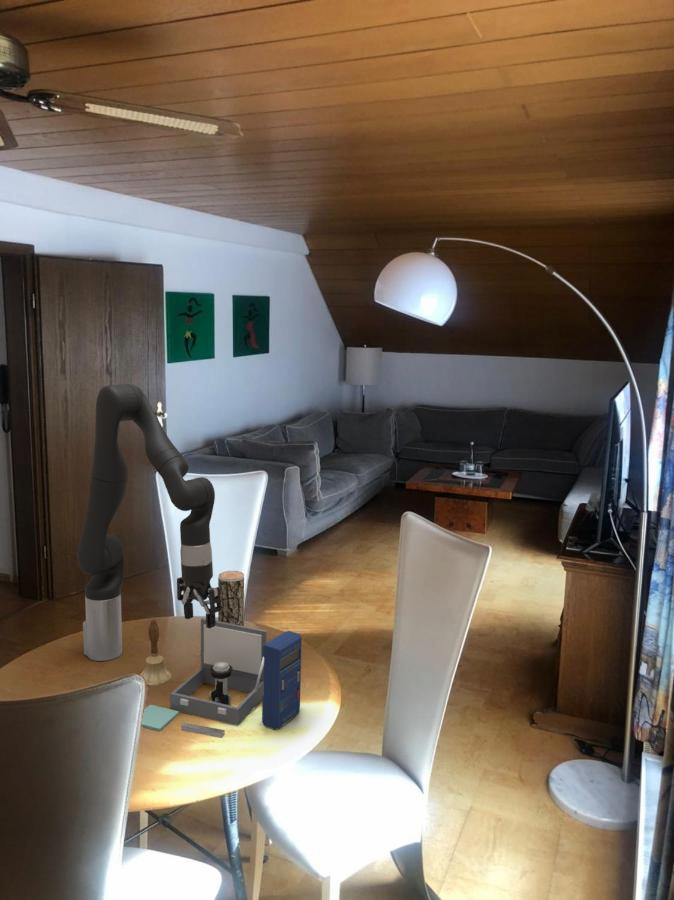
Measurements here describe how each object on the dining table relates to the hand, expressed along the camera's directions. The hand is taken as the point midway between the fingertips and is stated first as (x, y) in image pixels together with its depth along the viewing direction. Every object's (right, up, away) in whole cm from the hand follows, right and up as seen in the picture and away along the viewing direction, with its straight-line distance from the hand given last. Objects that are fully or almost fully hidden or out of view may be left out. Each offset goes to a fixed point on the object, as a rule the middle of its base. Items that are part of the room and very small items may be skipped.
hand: (199, 622), depth 185 cm
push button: (+5, -19, -2) cm, 20 cm away
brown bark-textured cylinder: (+5, -15, +18) cm, 24 cm away
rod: (+3, -22, -15) cm, 27 cm away
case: (+5, -19, -2) cm, 20 cm away
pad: (-9, -20, -11) cm, 24 cm away
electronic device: (+21, -21, -9) cm, 31 cm away
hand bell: (-13, -16, +8) cm, 23 cm away
